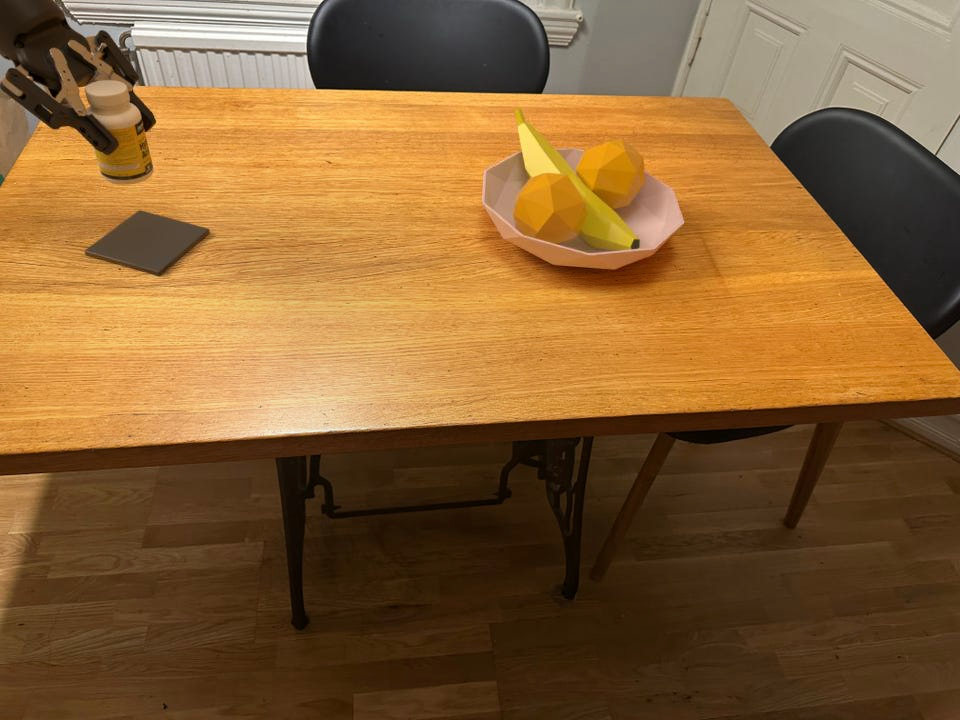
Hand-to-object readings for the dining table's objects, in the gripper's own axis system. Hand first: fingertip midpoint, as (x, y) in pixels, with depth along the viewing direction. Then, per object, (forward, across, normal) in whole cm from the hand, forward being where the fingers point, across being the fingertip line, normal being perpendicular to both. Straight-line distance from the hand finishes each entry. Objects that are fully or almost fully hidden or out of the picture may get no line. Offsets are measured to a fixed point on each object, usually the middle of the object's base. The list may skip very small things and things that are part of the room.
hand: (132, 138), depth 74 cm
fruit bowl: (+42, +26, -22) cm, 54 cm away
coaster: (+9, 0, +11) cm, 14 cm away
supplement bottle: (+2, 0, +5) cm, 5 cm away
